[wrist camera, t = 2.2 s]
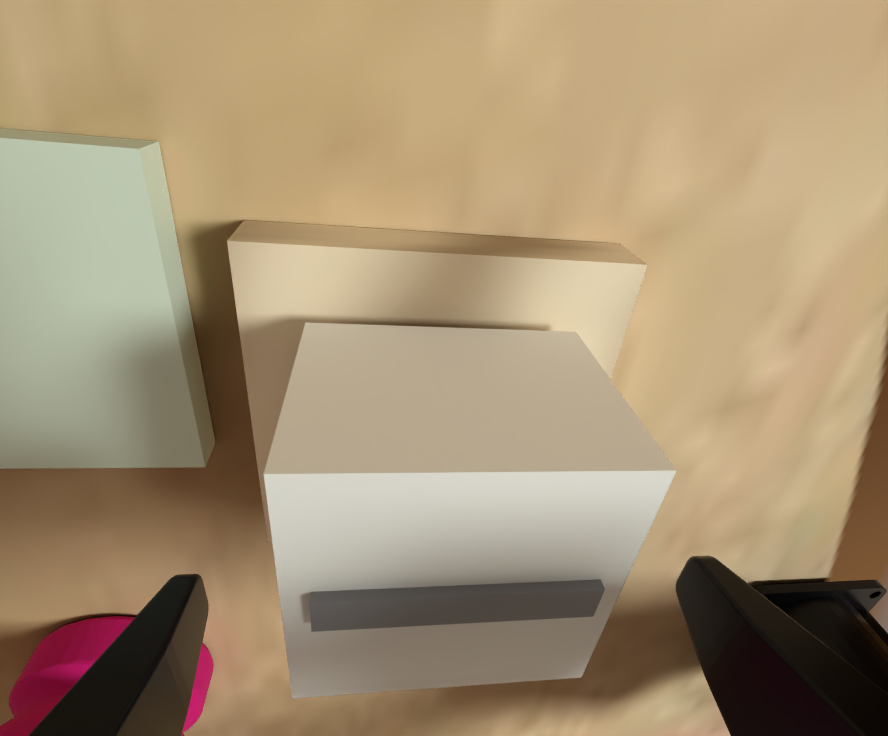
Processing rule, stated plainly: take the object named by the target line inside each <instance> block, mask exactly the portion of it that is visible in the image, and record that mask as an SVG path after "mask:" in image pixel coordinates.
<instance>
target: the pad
mask: <svg viewBox="0 0 888 736" xmlns="http://www.w3.org/2000/svg"><path fill="white" fill-rule="evenodd" d="M214 446H215V438H214V432H213V427H212V422H211V417H210V411H209V406H208V401H207V395H206V390H205V385H204V379H203V374H202V369H201V363H200V358H199V353H198V347H197V342H196V337H195V332H194V326H193V321H192V316H191V310H190V305H189V300H188V294H187V289H186V284H185V278H184V273H183V268H182V263H181V257H180V252H179V247H178V241H177V236H176V231H175V225H174V220H173V215H172V209H171V204H170V199H169V193H168V188H167V183H166V178H165V172H164V167H163V162H162V156H161V151H160V146H159V141H148V140H136V139H124V138H112V137H100V136H88V135H76V134H64V133H52V132H40V131H28V130H16V129H4V128H0V469H35V468H181V467H206V464H207V462H208V460H209V457H210V455H211V453H212V450H213V448H214Z"/></svg>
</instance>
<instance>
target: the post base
mask: <svg viewBox="0 0 888 736" xmlns="http://www.w3.org/2000/svg"><path fill="white" fill-rule="evenodd" d="M227 245H228V252H229V260H230V267H231V275H232V282H233V289H234V297H235V304H236V312H237V319H238V326H239V334H240V341H241V349H242V356H243V363H244V371H245V378H246V386H247V393H248V400H249V408H250V415H251V423H252V430H253V437H254V445H255V452H256V459H257V467H258V474H259V482H260V489H261V496H262V504H263V511H264V519H265V526H266V533H267V541H268V542H272V535H271V528H270V520H269V512H268V504H267V496H266V488H265V481H264V471H265V467H266V464H267V460H268V457H269V453H270V449H271V446H272V442H273V438H274V435H275V431H276V428H277V424H278V420H279V417H280V413H281V409H282V406H283V402H284V398H285V395H286V391H287V388H288V384H289V380H290V377H291V373H292V369H293V366H294V362H295V359H296V355H297V351H298V348H299V344H300V340H301V337H302V333H303V329H304V326H305V323H334V324H363V325H392V326H421V327H450V328H479V329H508V330H537V331H565V332H577V334H578V335H579V336H580V338H581V339H582V341H583V342H584V343H585V345H586V346H587V347H588V349H589V350H590V352H591V353H592V354H593V356H594V357H595V359H596V360H597V361H598V363H599V364H600V365H601V367H602V368H603V370H604V371H605V372H606V374H607V375H608V376H609V378H610V379H611V376H612V373H613V370H614V367H615V364H616V361H617V358H618V355H619V351H620V348H621V345H622V342H623V339H624V336H625V333H626V330H627V327H628V324H629V321H630V318H631V314H632V311H633V308H634V305H635V302H636V299H637V296H638V293H639V290H640V287H641V284H642V280H643V277H644V274H645V271H646V268H647V264H646V263H645V262H643V261H642V260H641V259H639V258H638V257H637V256H636V255H634V254H633V253H632V252H630V251H629V250H628V249H626V248H625V247H624V246H622V245H621V244H617V243H601V242H585V241H569V240H553V239H537V238H521V237H506V236H490V235H474V234H458V233H442V232H426V231H410V230H394V229H378V228H362V227H346V226H331V225H315V224H299V223H283V222H267V221H251V220H244V221H243V222H242V223H241V225H240V226H239V227H238V228H237V229H236V231H235V232H234V233H233V234H232V235H231V237H230V238H229V239H228V240H227Z"/></svg>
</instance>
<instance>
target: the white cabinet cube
mask: <svg viewBox="0 0 888 736" xmlns="http://www.w3.org/2000/svg"><path fill="white" fill-rule="evenodd" d="M676 471H677V470H676V469H675V468H674V466H673V465H672V464H671V462H670V461H669V459H668V458H667V457H666V455H665V454H664V452H663V451H662V450H661V448H660V447H659V446H658V444H657V443H656V441H655V440H654V439H653V437H652V436H651V435H650V433H649V432H648V430H647V429H646V428H645V426H644V425H643V423H642V422H641V421H640V419H639V418H638V417H637V415H636V414H635V412H634V411H633V410H632V408H631V407H630V406H629V404H628V403H627V401H626V400H625V399H624V397H623V396H622V394H621V393H620V392H619V390H618V389H617V388H616V386H615V385H614V383H613V382H612V381H611V379H610V378H609V376H608V375H607V374H606V372H605V371H604V370H603V368H602V367H601V365H600V364H599V363H598V361H597V360H596V359H595V357H594V356H593V354H592V353H591V352H590V350H589V349H588V347H587V346H586V345H585V343H584V342H583V341H582V339H581V338H580V336H579V335H578V334H577V332H565V331H537V330H508V329H479V328H450V327H421V326H392V325H363V324H334V323H305V326H304V329H303V333H302V337H301V340H300V344H299V348H298V351H297V355H296V359H295V362H294V366H293V369H292V373H291V377H290V380H289V384H288V388H287V391H286V395H285V398H284V402H283V406H282V409H281V413H280V417H279V420H278V424H277V428H276V431H275V435H274V438H273V442H272V446H271V449H270V453H269V457H268V460H267V464H266V467H265V471H264V481H265V488H266V496H267V504H268V512H269V520H270V528H271V535H272V543H273V551H274V559H275V567H276V574H277V582H278V590H279V598H280V606H281V614H282V621H283V629H284V637H285V645H286V653H287V660H288V668H289V676H290V684H291V692H292V699H294V698H308V697H321V696H335V695H349V694H363V693H376V692H390V691H404V690H417V689H431V688H445V687H458V686H472V685H486V684H500V683H513V682H527V681H541V680H554V679H568V678H581V677H582V675H583V673H584V671H585V668H586V666H587V664H588V662H589V660H590V658H591V655H592V653H593V651H594V649H595V647H596V645H597V642H598V640H599V638H600V636H601V634H602V631H603V629H604V627H605V625H606V623H607V621H608V618H609V616H610V614H611V612H612V610H613V608H614V605H615V603H616V601H617V599H618V597H619V595H620V592H621V590H622V588H623V586H624V584H625V581H626V579H627V577H628V575H629V573H630V571H631V568H632V566H633V564H634V562H635V560H636V558H637V555H638V553H639V551H640V549H641V547H642V545H643V542H644V540H645V538H646V536H647V534H648V531H649V529H650V527H651V525H652V523H653V521H654V518H655V516H656V514H657V512H658V510H659V508H660V505H661V503H662V501H663V499H664V497H665V495H666V492H667V490H668V488H669V486H670V484H671V481H672V479H673V477H674V475H675V473H676Z"/></svg>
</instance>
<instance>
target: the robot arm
mask: <svg viewBox="0 0 888 736" xmlns="http://www.w3.org/2000/svg"><path fill="white" fill-rule="evenodd" d="M676 593H677V597H678V600H679V603H680V606H681V609H682V612H683V615H684V618H685V620H686V623H687V626H688V629H689V632H690V635H691V638H692V641H693V644H694V647H695V650H696V653H697V656H698V659H699V662H700V664H701V667H702V670H703V673H704V675H705V678H706V680H707V683H708V685H709V687H710V690H711V692H712V694H713V696H714V699H715V701H716V703H717V706H718V708H719V710H720V712H721V715H722V717H723V719H724V721H725V724H726V726H727V728H728V730H729V733H730V735H731V736H888V633H887V632H886V631H885V630H884V629H883V628H882V627H881V626H880V624H879V623H878V622H877V621H876V620H875V619H874V618H873V616H872V615H871V614H870V613H869V611H870V610H871V609H872V608H873V607H874V606H875V605H876V603H877V602H878V601H879V600H880V599H881V598H882V597H883V596H884V595H885V593H886V589H885V588H884V587H883V586H882V585H881V583H880V582H878V581H877V580H861V581H839V582H818V583H796V584H775V585H761V586H757V587H754V588H753V587H751V586H750V585H749V584H748V583H746V582H745V581H744V580H743V579H741V578H740V577H739V576H737V575H736V574H735V573H734V572H732V571H731V570H730V569H729V568H727V567H726V566H725V565H723V564H722V563H721V562H720V561H718V560H717V559H715V558H714V557H711V556H693V557H691V558H689V559H688V561H687V563H686V565H685V566H684V568H683V570H682V572H681V574H680V576H679V577H678V579H677V582H676ZM207 617H208V600H207V596H206V592H205V588H204V584H203V580H202V578H201V576H200V575H198V574H183V575H176V576H174V577H172V578H171V579H170V580H169V581H168V582H167V583H166V584H165V585H164V586H163V587H162V588H161V590H160V591H159V592H158V593H157V594H156V595H155V596H154V597H153V598H152V600H151V601H150V602H149V603H148V604H147V605H146V606H145V607H144V608H143V609H142V611H141V612H140V613H139V614H138V615H137V616H136V617H135V618H134V619H133V620H132V622H131V623H130V624H129V625H128V626H127V627H126V628H125V629H124V630H123V631H122V633H121V634H120V635H119V636H118V637H117V638H116V639H115V640H114V641H113V642H112V644H111V645H110V646H109V647H108V648H107V649H106V650H105V651H104V652H103V654H102V655H101V656H100V657H99V658H98V659H97V660H96V661H95V662H94V663H93V665H92V666H91V667H90V668H89V669H88V670H87V671H86V672H85V673H84V674H83V676H82V677H81V678H80V679H79V680H78V681H77V682H76V683H75V684H74V685H73V687H72V688H71V689H70V690H69V691H68V692H67V693H66V694H65V695H64V696H63V698H62V699H61V700H60V701H59V702H58V703H57V704H56V705H55V706H54V708H53V709H52V710H51V711H50V712H49V713H48V714H47V715H46V716H45V717H44V719H43V720H42V721H41V722H40V723H39V724H38V725H37V726H36V727H35V728H34V730H33V731H32V732H31V733H30V734H29V735H28V736H181V734H182V731H183V727H184V724H185V720H186V717H187V713H188V709H189V704H190V700H191V695H192V690H193V685H194V680H195V676H196V671H197V666H198V661H199V656H200V651H201V646H202V642H203V637H204V632H205V627H206V622H207Z"/></svg>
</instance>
